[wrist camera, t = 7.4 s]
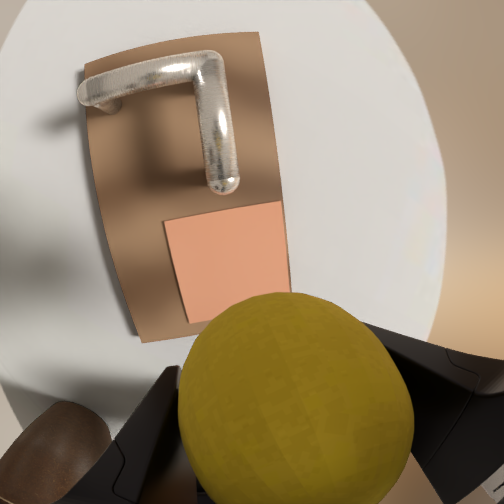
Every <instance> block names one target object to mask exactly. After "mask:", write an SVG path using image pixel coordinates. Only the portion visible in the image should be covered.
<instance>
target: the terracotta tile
mask: <svg viewBox="0 0 504 504" xmlns="http://www.w3.org/2000/svg"><path fill="white" fill-rule="evenodd" d="M164 223H165V228H166V233H167V237H168V242H169V246H170V250H171V255H172V259H173V263H174V267H175V271H176V275H177V279H178V283H179V287H180V291H181V295H182V298H183V302H184V306H185V309H186V313H187V316H188V320H189V323H190V324H191V323H197V322H202V321H208V320H213V318H215V317H216V316H218V315H219V314H221V313H222V312H223V311H225V310H226V309H228V308H229V307H230V306H232V305H234V304H236V303H239V302H241V301H243V300H246V299H248V298H250V297H253V296H258V295H263V294H268V293H274V292H290V288H289V276H288V265H287V254H286V244H285V234H284V224H283V214H282V205H281V201H274V202H267V203H261V204H254V205H248V206H242V207H236V208H230V209H225V210H219V211H213V212H208V213H203V214H197V215H192V216H187V217H182V218H177V219H172V220H167V221H164Z"/></svg>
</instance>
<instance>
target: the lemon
mask: <svg viewBox="0 0 504 504" xmlns="http://www.w3.org/2000/svg"><path fill="white" fill-rule="evenodd" d="M178 422H179V429H180V434H181V439H182V442H183V446H184V449H185V452H186V455H187V457H188V460H189V462H190V465H191V467H192V469H193V471H194V473H195V475H196V477H197V478H198V480H199V482H200V484H201V486H202V487H203V489H204V490H205V491H206V493H207V494H208V496H209V497H210V498H211V499H212V500H213V501H214V502H215V503H216V504H378V503H379V502H380V501H381V500H382V499H383V498H384V497H385V495H386V494H387V493H388V492H389V491H390V490H391V488H392V487H393V486H394V485H395V483H396V482H397V480H398V479H399V477H400V475H401V473H402V471H403V469H404V467H405V465H406V463H407V460H408V457H409V454H410V451H411V446H412V441H413V434H414V411H413V406H412V402H411V398H410V395H409V392H408V389H407V387H406V384H405V382H404V380H403V378H402V376H401V374H400V372H399V370H398V369H397V367H396V365H395V363H394V362H393V360H392V358H391V357H390V355H389V353H388V352H387V350H386V349H385V347H384V346H383V344H382V343H381V342H380V340H379V339H378V338H377V337H376V336H375V334H374V333H373V332H372V331H371V330H370V329H369V328H368V327H367V326H365V325H364V324H363V323H362V322H360V321H359V320H358V319H356V318H355V317H353V316H352V315H351V314H349V313H348V312H346V311H345V310H343V309H342V308H341V307H339V306H337V305H335V304H334V303H332V302H329V301H326V300H324V299H320V298H317V297H314V296H310V295H307V294H303V293H291V292H274V293H268V294H263V295H258V296H253V297H250V298H248V299H246V300H243V301H241V302H239V303H236V304H234V305H232V306H230V307H229V308H228V309H226V310H225V311H223V312H222V313H221V314H219V315H218V316H216V317H215V318H213V320H212V321H211V322H210V323H209V324H208V325H207V326H206V328H205V329H204V330H203V331H202V332H201V333H200V334H199V336H198V337H197V338H196V340H195V342H194V344H193V346H192V348H191V350H190V352H189V354H188V357H187V359H186V361H185V363H184V366H183V369H182V372H181V377H180V382H179V397H178Z"/></svg>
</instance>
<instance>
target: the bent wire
mask: <svg viewBox="0 0 504 504" xmlns="http://www.w3.org/2000/svg"><path fill="white" fill-rule="evenodd" d="M191 81H193V85H194V94H195V102H196V109H197V117H198V124H199V132H200V139H201V146H202V153H203V159H204V166H205V173H206V179H207V184H208V186H209V188H210V189H211V190H212V191H213V192H214V193H216V194H219V195H227V194H230V193H232V192H233V191H235V189H236V188H237V187H238V185H239V182H240V174H239V167H238V160H237V152H236V145H235V138H234V131H233V124H232V117H231V110H230V103H229V95H228V88H227V81H226V74H225V67H224V60H223V58H222V56H221V55H220V54H219V53H217V52H216V51H213V50H203V51H195V52H188V53H182V54H176V55H171V56H165V57H161V58H156V59H151V60H147V61H143V62H139V63H135V64H131V65H127V66H124V67H120V68H117V69H114V70H110V71H107V72H104V73H101V74H98V75H95V76H93V77H90V78H88V79H86V80H84V81H83V82H82V83H81V84H80V86H79V88H78V91H77V98H78V100H79V102H80V103H81V104H83V105H85V106H95V107H97V108H98V109H100V110H102V111H104V112H106V113H108V114H110V115H113V114H116V113H118V112H119V111H120V109H121V107H122V102H121V100H120V99H119V97H122V96H126V95H130V94H133V93H137V92H141V91H145V90H150V89H154V88H159V87H163V86H168V85H173V84H179V83H184V82H191Z"/></svg>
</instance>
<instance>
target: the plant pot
mask: <svg viewBox="0 0 504 504" xmlns="http://www.w3.org/2000/svg"><path fill="white" fill-rule="evenodd" d="M111 442H112V439H111V435H110V431H109V428H108V426H107V424H106V423H105V422H104V421H103V420H102V419H101V418H100V417H99V416H98V415H97V414H95V413H94V412H92V411H91V410H89V409H87V408H85V407H83V406H81V405H78V404H75V403H72V402H66V401H61V402H57V403H55V404H54V405H53V406H51V407H50V408H49V409H48V410H46V411H45V412H44V413H43V414H41V415H40V416H39V417H38V418H37V419H36V420H35V421H33V422H32V423H31V424H30V425H29V426H28V427H27V428H26V429H25V430H24V431H23V432H22V433H21V435H20V436H19V437H18V438H17V439H16V440H15V441H14V442H13V444H12V445H11V446H10V448H9V449H8V450H7V451H6V453H5V454H4V455H3V457H2V458H1V459H0V504H49V503H52V502H55V501H57V500H59V499H60V498H62V497H63V496H64V495H65V494H66V493H67V492H68V491H69V490H70V489H71V488H72V487H73V486H74V485H75V484H76V483H77V482H78V481H79V480H80V479H81V478H82V477H83V476H84V475H85V474H86V472H87V471H88V470H89V469H90V468H91V467H92V466H93V465H94V464H95V462H96V461H97V460H98V459H99V458H100V456H101V455H102V454H103V453H104V451H105V450H106V449H107V447H108V446H109V445H110V443H111Z"/></svg>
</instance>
